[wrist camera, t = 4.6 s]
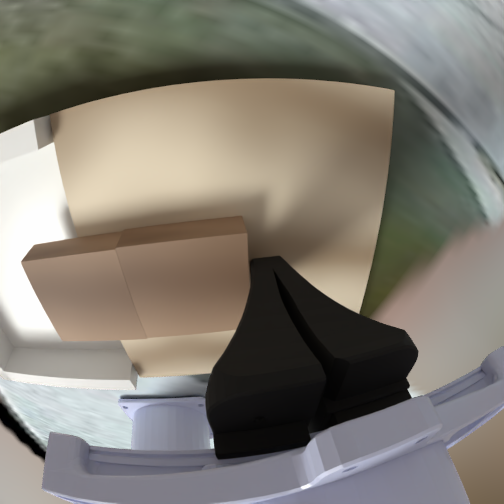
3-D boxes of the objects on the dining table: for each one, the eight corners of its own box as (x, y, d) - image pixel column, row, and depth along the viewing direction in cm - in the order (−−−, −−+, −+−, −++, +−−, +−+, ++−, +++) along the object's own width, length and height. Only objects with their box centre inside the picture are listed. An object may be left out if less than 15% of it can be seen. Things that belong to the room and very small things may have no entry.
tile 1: (246, 306, 15) (251, 327, 13) (150, 316, 14) (147, 338, 13) (241, 215, 12) (247, 232, 11) (123, 229, 11) (115, 247, 10)
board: (337, 329, 20) (347, 350, 18) (142, 354, 18) (140, 377, 17) (371, 87, 11) (394, 90, 10) (69, 109, 10) (49, 114, 8)
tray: (140, 354, 18) (136, 389, 16) (13, 352, 17) (2, 379, 14) (66, 110, 10) (33, 119, 7) (-69, 175, 8) (-97, 193, 6)
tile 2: (150, 317, 14) (147, 338, 13) (69, 321, 13) (62, 341, 12) (124, 230, 11) (115, 249, 10) (34, 244, 11) (20, 262, 10)
